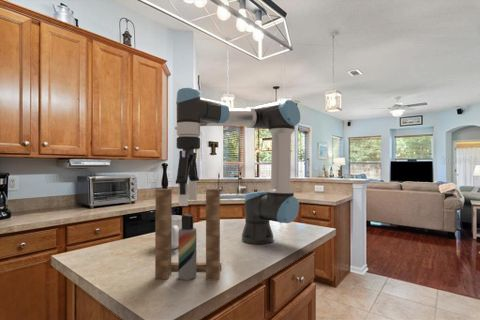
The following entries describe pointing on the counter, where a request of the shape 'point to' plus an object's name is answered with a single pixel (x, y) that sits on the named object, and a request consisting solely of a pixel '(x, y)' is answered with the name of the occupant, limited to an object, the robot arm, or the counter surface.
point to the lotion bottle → (187, 249)
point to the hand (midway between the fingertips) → (188, 202)
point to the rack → (165, 235)
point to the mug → (176, 229)
